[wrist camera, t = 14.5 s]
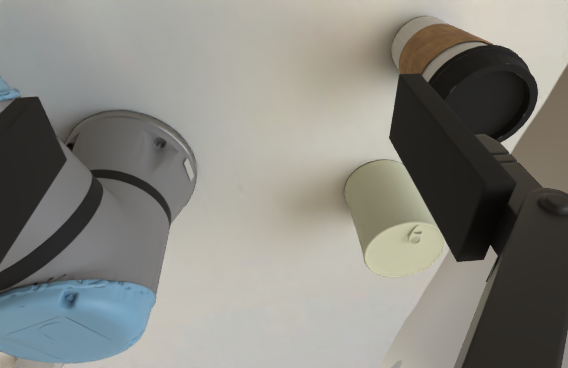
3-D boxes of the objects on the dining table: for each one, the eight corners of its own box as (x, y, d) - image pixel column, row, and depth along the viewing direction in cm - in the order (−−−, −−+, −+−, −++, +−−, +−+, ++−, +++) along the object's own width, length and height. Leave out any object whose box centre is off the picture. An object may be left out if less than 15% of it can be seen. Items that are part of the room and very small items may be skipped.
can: (423, 164, 50) (462, 229, 41) (396, 216, 56) (426, 284, 47) (356, 155, 49) (381, 220, 39) (335, 209, 54) (353, 278, 45)
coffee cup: (387, 2, 38) (448, 57, 26) (470, 2, 38) (568, 57, 27) (372, 83, 43) (419, 161, 31) (446, 83, 44) (519, 158, 32)
